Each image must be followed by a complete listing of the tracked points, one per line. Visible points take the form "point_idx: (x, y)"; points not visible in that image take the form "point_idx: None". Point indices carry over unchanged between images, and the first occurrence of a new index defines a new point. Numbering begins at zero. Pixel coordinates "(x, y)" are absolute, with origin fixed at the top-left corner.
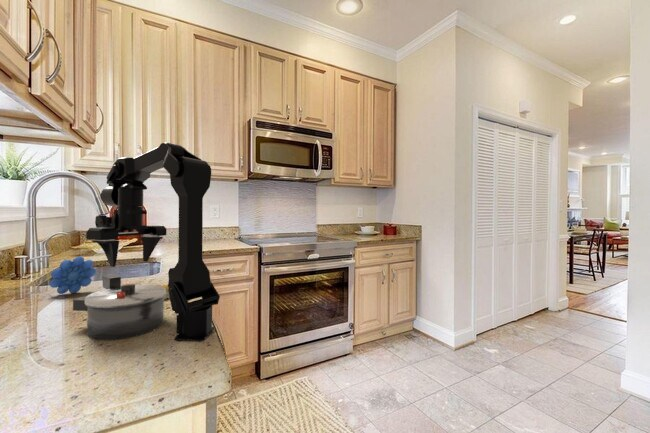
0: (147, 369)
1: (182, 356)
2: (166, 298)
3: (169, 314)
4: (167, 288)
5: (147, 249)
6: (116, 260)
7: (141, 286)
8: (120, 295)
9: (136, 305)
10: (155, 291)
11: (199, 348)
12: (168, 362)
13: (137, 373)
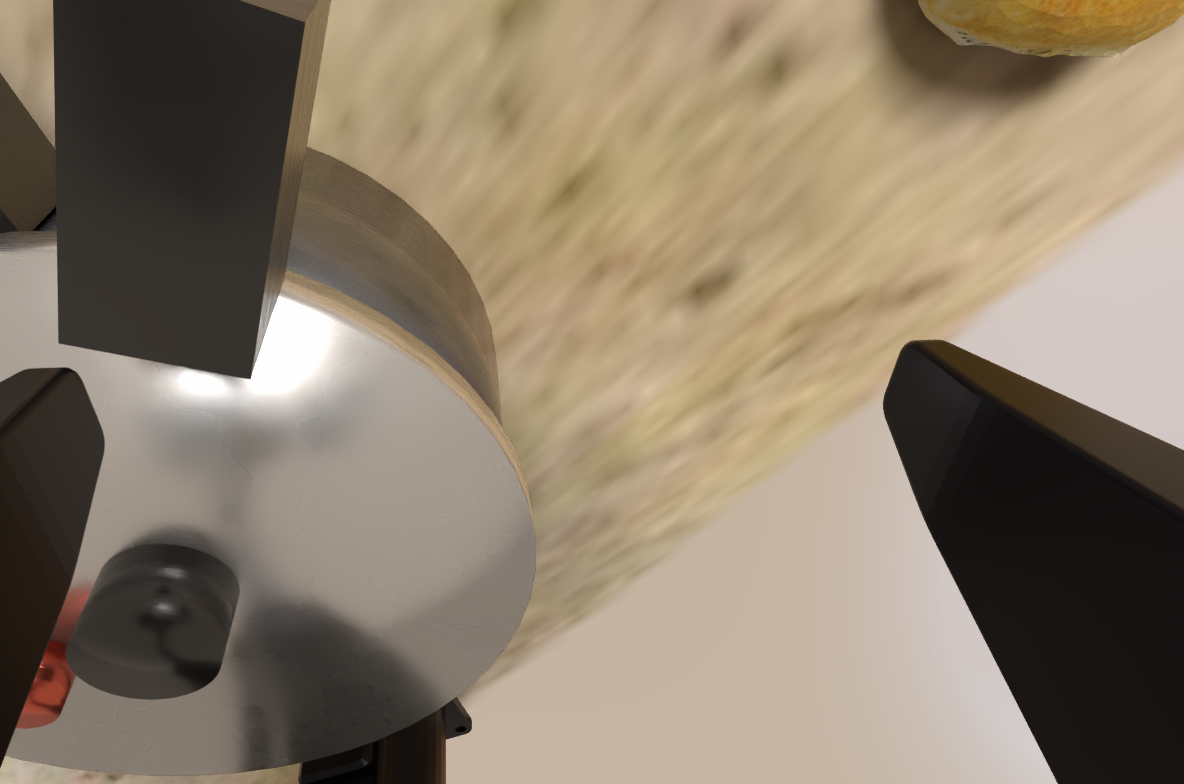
0: (49, 774)
1: (201, 780)
2: (975, 42)
3: (573, 412)
4: (1095, 37)
5: (1067, 651)
6: (57, 612)
7: (429, 478)
8: None
9: None
10: (361, 690)
11: (288, 777)
12: (135, 781)
13: (7, 773)
